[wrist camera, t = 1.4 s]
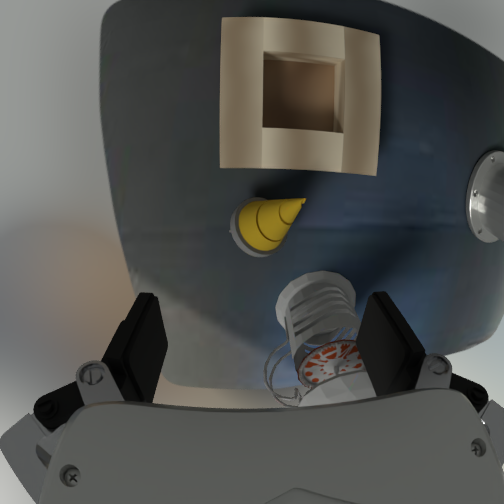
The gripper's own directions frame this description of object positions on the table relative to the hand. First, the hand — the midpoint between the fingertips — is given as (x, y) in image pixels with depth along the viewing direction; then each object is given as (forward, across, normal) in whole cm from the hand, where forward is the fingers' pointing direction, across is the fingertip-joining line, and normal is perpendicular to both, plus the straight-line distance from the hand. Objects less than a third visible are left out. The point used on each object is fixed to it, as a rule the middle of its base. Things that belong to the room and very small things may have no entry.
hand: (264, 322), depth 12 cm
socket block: (+16, -4, -11) cm, 20 cm away
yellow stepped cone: (+17, -1, 0) cm, 17 cm away
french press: (+17, -7, +12) cm, 21 cm away
